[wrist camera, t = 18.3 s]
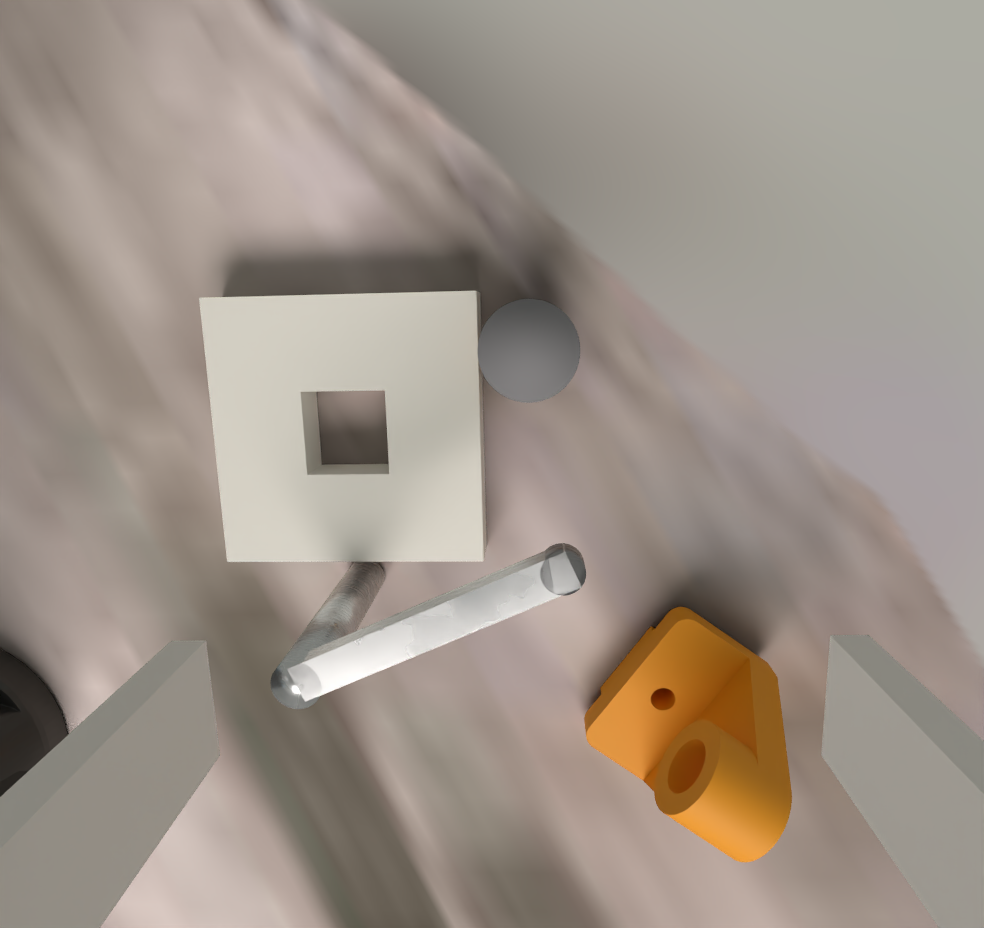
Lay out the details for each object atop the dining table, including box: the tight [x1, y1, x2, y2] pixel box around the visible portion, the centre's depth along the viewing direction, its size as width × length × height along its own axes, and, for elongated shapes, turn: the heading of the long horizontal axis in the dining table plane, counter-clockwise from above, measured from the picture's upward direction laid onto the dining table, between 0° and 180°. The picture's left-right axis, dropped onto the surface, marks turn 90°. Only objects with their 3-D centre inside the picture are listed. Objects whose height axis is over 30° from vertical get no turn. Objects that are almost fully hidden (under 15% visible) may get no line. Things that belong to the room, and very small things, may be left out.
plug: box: [478, 299, 580, 403], centre depth 37 cm, size 5×5×12 cm
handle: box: [271, 543, 586, 709], centre depth 38 cm, size 2×16×14 cm, turn 115°
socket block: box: [199, 291, 487, 562], centre depth 43 cm, size 16×16×3 cm
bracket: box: [584, 607, 792, 862], centre depth 41 cm, size 11×7×12 cm, turn 145°
